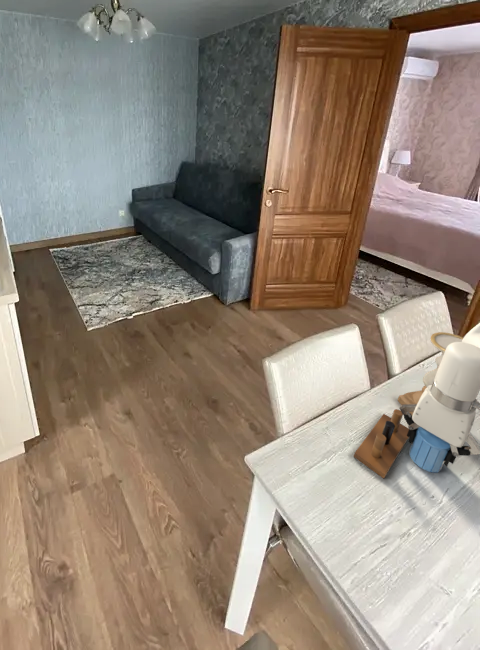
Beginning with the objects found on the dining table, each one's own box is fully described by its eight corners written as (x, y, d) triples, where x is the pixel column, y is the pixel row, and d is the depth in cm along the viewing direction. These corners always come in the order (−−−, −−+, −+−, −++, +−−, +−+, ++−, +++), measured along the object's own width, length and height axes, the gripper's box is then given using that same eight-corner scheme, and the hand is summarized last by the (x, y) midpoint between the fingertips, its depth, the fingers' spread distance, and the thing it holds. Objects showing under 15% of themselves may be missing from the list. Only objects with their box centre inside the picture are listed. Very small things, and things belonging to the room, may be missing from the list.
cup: (439, 454, 86) (449, 431, 83) (443, 477, 80) (454, 453, 77) (408, 442, 89) (417, 419, 86) (409, 463, 83) (419, 440, 80)
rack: (382, 417, 96) (389, 397, 93) (410, 434, 91) (418, 413, 88) (353, 457, 85) (359, 435, 82) (383, 479, 80) (391, 456, 77)
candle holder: (428, 395, 103) (453, 329, 94) (462, 426, 93) (494, 355, 84) (396, 399, 101) (419, 332, 92) (427, 432, 91) (456, 360, 82)
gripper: (506, 410, 73) (477, 467, 79) (413, 366, 85) (395, 418, 92) (499, 430, 68) (469, 489, 75) (402, 380, 80) (383, 434, 87)
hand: (428, 450), depth 83 cm, fingers closed on cup, 6 cm apart
